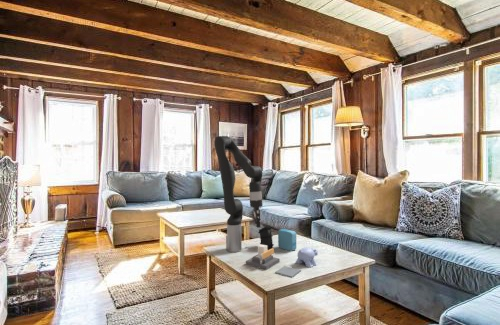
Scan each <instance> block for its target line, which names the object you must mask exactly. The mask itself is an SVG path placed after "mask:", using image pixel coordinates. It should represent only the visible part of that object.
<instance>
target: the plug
mask: <svg viewBox="0 0 500 325" xmlns="http://www.w3.org/2000/svg"><path fill="white" fill-rule="evenodd" d="M266 251H268V250H267V245H262V244H259V245H257V254H258V256H256V257H257V258H260V256H259V254H262V253H264V252H266ZM268 257H269V256H268ZM268 257H267V258H268ZM265 259H266V258H265Z"/></svg>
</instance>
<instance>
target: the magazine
mask: <svg viewBox="0 0 500 325" xmlns="http://www.w3.org/2000/svg"><path fill="white" fill-rule="evenodd" d="M271 229H272V227H271V226H270V225H266V226H264V227H262V228H259V229H258V231H257V232H258V234H259V240H260V242H259V245H261V244H262V245H267V250H270V249H272V248H274V243H273V234H272V230H271Z"/></svg>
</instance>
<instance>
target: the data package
mask: <svg viewBox="0 0 500 325" xmlns="http://www.w3.org/2000/svg"><path fill="white" fill-rule="evenodd" d="M277 236H278V237H277V246H278V247H279V248H280V249H281V250H282V249H283V250H286V251H288V252H289V251H290V252H292V251H294V250H297V232H296V231H294V230H290V229H287V228H281V229H279V230H278V231H277Z"/></svg>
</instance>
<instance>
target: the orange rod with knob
mask: <svg viewBox="0 0 500 325" xmlns="http://www.w3.org/2000/svg"><path fill="white" fill-rule="evenodd" d="M273 254H275V249H274V247H273V248H272V249H270V250H268V251H266V252H264V253H262V254H259V256H260V260H263V259H265V258H267V257H268V256H270V255H273Z"/></svg>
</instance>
